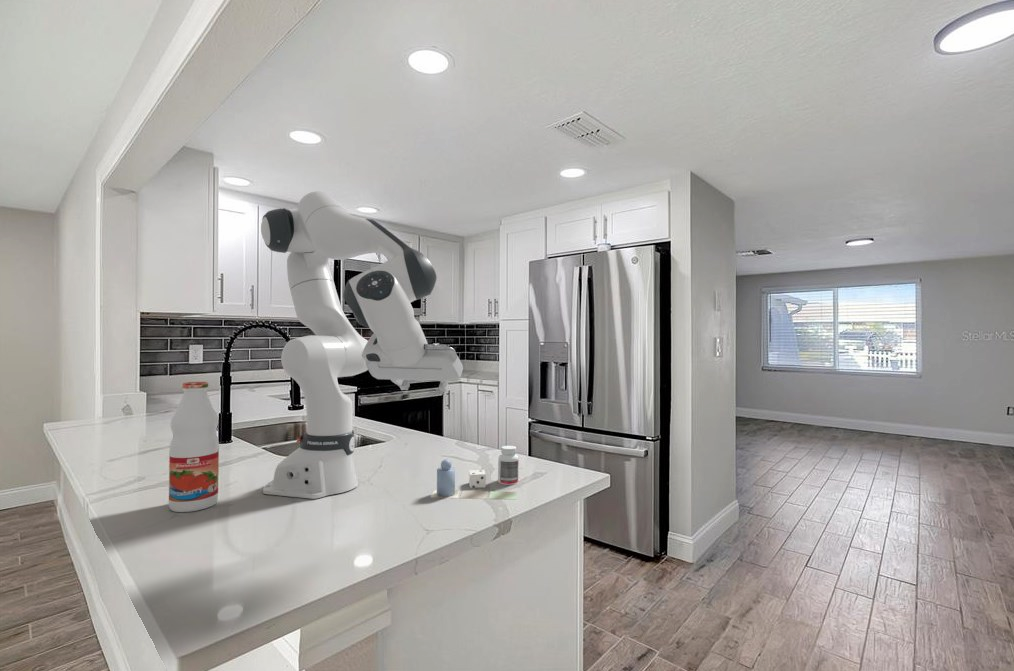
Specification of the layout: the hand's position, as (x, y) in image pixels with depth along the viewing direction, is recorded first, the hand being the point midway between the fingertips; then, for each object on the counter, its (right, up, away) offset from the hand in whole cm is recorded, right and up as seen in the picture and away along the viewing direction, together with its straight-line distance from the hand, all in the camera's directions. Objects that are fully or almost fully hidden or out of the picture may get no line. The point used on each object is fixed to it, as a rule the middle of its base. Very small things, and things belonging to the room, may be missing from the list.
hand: (425, 388), depth 104 cm
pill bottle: (+18, -28, +22) cm, 40 cm away
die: (+10, -28, +19) cm, 35 cm away
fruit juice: (-53, -27, +3) cm, 60 cm away
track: (+10, -28, +11) cm, 32 cm away
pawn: (+3, -27, +12) cm, 30 cm away
